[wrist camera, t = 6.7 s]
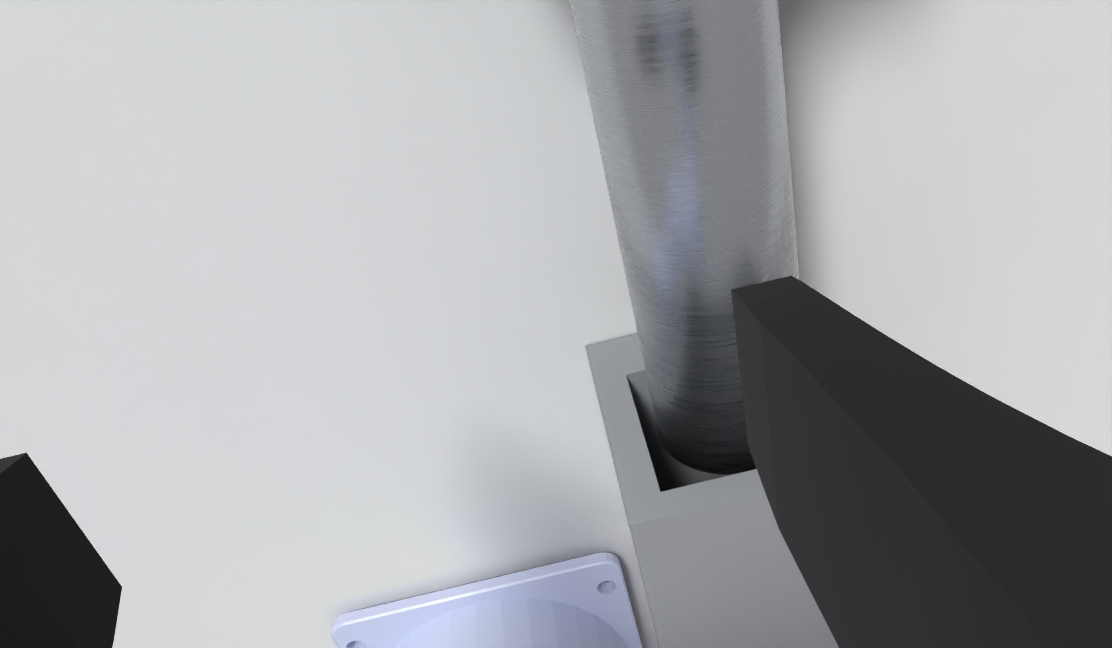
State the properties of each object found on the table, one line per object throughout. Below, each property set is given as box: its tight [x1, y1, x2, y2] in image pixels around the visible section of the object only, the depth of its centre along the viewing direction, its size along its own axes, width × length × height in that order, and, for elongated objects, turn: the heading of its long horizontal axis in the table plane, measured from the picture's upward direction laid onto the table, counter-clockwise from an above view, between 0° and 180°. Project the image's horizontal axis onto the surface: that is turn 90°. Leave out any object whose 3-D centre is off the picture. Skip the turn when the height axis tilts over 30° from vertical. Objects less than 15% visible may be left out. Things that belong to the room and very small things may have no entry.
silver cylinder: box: [569, 0, 799, 475], centre depth 14 cm, size 15×4×4 cm, turn 12°
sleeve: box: [585, 333, 839, 648], centre depth 20 cm, size 6×5×6 cm
